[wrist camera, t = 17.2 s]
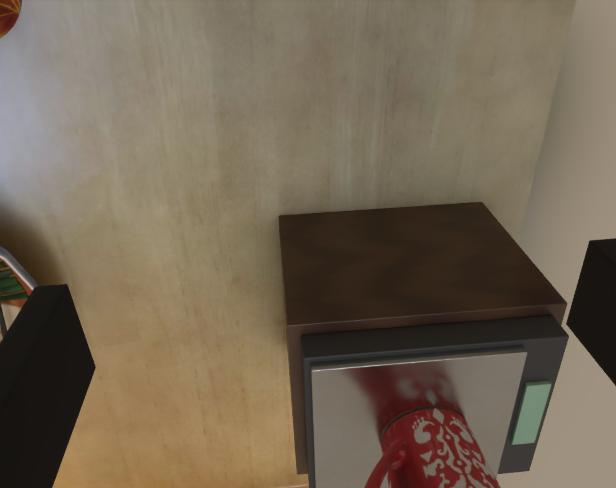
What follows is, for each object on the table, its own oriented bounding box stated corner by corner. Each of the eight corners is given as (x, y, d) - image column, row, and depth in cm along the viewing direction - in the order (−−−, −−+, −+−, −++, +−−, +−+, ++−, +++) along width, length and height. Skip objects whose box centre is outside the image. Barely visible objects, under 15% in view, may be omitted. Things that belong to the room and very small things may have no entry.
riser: (482, 201, 56) (567, 303, 41) (461, 330, 65) (525, 452, 50) (278, 215, 55) (287, 325, 39) (287, 344, 64) (296, 474, 49)
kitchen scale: (552, 314, 41) (575, 343, 38) (517, 447, 49) (533, 479, 46) (300, 334, 40) (304, 366, 37) (307, 467, 48) (310, 501, 45)
